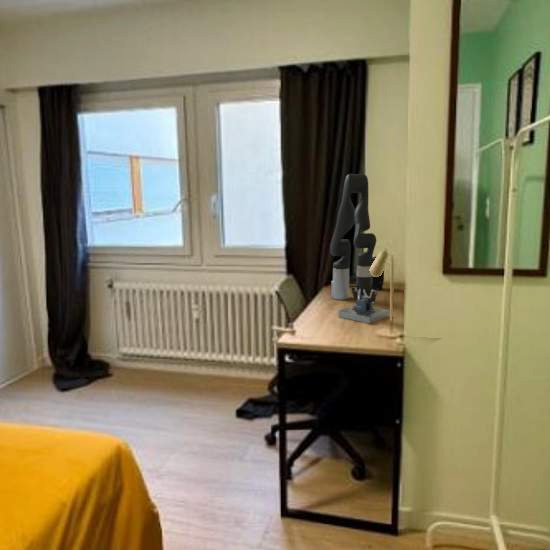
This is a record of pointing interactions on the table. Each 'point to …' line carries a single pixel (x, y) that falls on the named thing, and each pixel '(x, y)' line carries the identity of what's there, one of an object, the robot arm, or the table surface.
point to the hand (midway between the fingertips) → (364, 309)
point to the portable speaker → (377, 280)
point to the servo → (362, 305)
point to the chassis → (363, 314)
